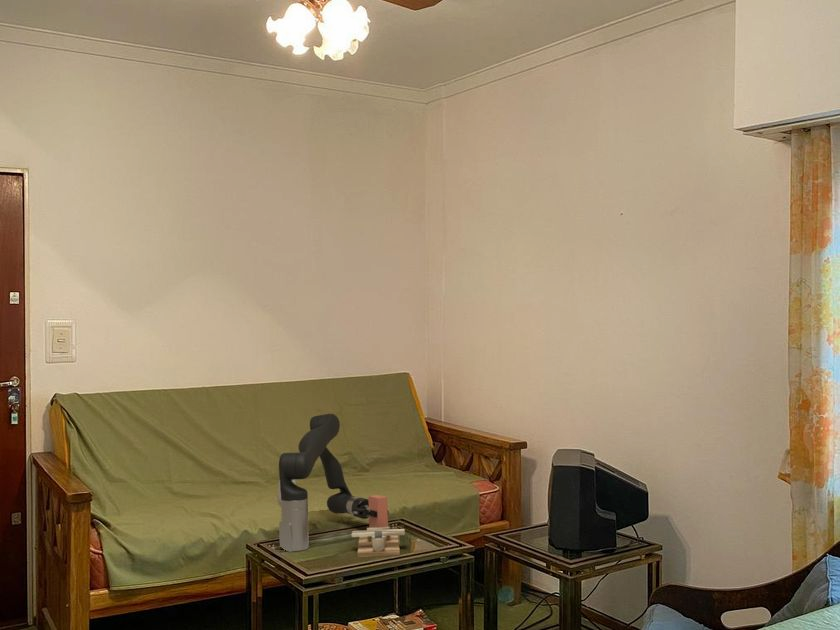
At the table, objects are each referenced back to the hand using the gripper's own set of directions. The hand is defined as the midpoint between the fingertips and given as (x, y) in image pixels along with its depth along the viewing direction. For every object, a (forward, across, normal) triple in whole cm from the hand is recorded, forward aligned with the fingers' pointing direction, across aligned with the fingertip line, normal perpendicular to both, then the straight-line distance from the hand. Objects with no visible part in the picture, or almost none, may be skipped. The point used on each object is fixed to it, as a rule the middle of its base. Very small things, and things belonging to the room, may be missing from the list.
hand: (381, 513), depth 312 cm
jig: (+15, -10, +8) cm, 20 cm away
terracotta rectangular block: (-3, 0, +8) cm, 8 cm away
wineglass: (-22, -28, +8) cm, 36 cm away
